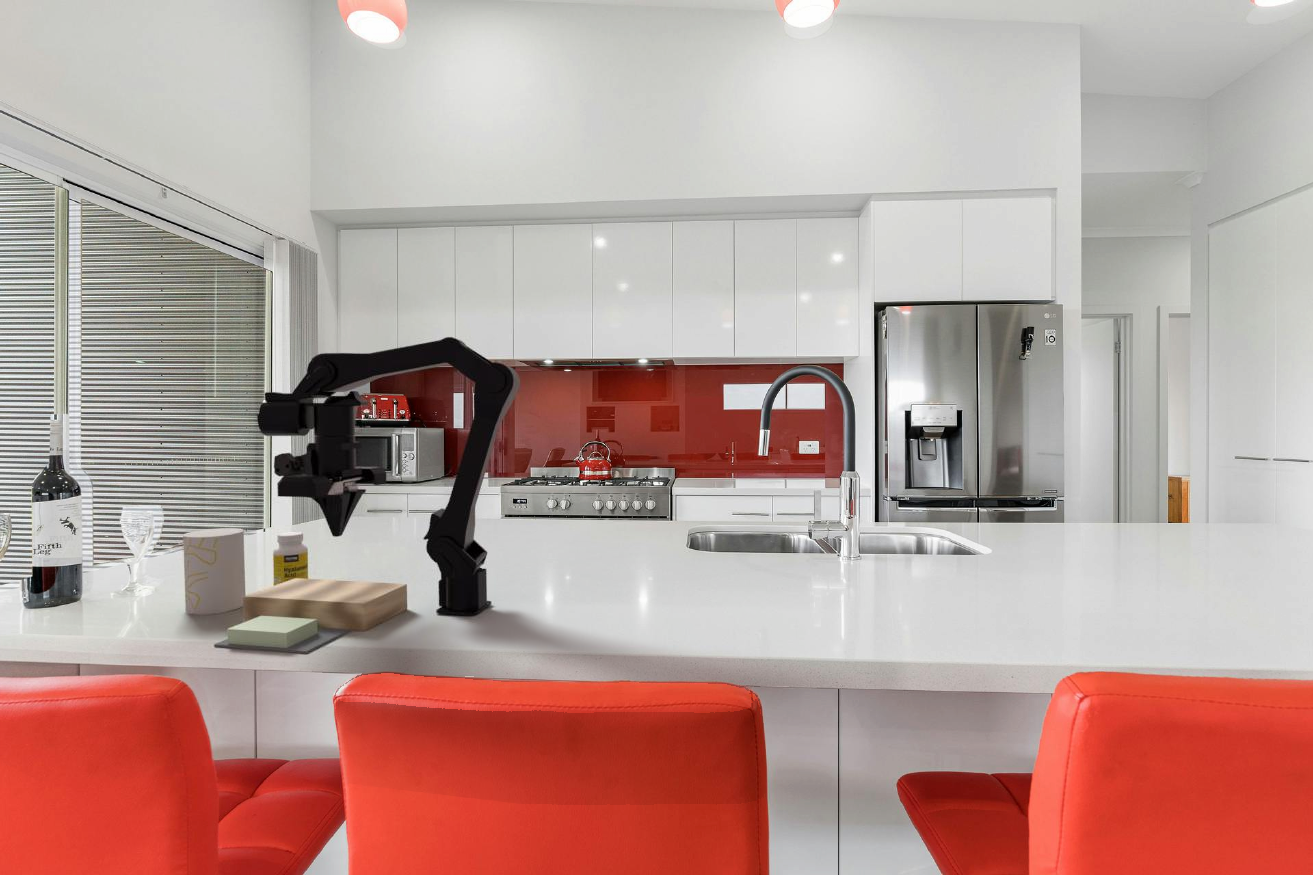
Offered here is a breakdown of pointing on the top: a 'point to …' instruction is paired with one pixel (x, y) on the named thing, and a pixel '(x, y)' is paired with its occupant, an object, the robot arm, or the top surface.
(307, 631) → the pale green foam block
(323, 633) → the mat
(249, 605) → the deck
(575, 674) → the top surface
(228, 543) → the cup
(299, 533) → the supplement bottle
